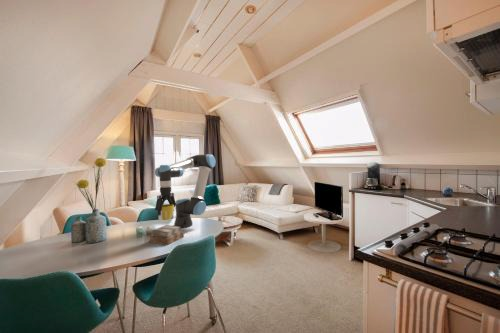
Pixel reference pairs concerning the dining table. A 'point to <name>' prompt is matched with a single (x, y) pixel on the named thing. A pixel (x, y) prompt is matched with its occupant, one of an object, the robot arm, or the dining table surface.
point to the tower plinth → (166, 240)
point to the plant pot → (167, 211)
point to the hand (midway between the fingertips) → (166, 217)
